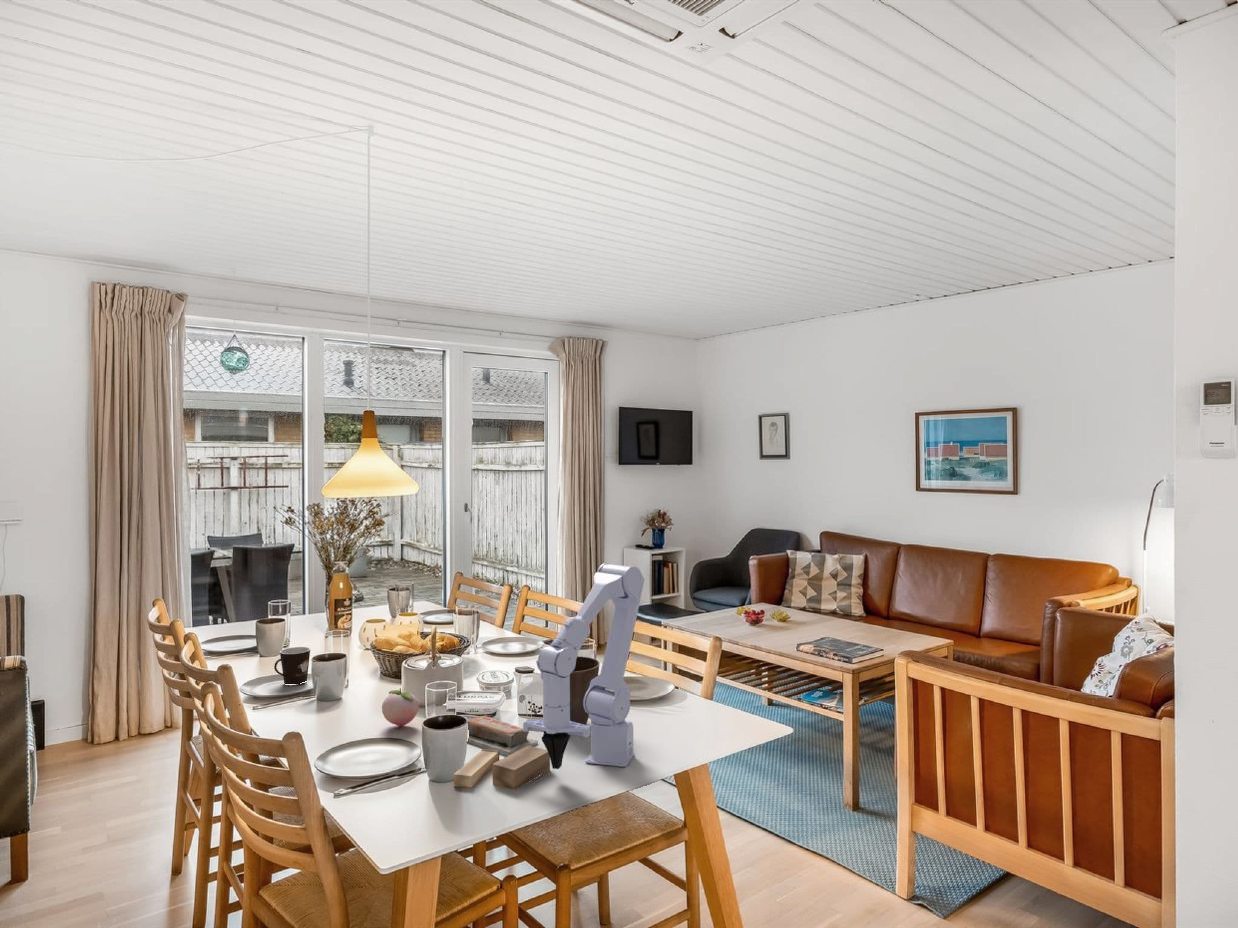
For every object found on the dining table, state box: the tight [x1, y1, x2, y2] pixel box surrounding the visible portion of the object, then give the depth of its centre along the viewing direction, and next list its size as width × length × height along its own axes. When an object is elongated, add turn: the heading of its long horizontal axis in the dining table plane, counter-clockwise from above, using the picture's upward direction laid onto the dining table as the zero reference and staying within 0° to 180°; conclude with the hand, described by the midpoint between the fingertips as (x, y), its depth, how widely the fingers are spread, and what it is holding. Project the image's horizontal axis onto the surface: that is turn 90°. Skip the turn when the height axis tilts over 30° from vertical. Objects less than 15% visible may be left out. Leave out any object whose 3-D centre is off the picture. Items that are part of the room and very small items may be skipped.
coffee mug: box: [273, 646, 311, 684], centre depth 235 cm, size 12×9×10 cm
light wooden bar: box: [453, 748, 500, 789], centre depth 168 cm, size 4×14×3 cm, turn 164°
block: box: [492, 746, 551, 791], centre depth 166 cm, size 6×12×4 cm, turn 148°
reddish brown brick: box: [466, 715, 539, 757], centre depth 187 cm, size 18×5×10 cm
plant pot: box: [570, 655, 601, 725], centre depth 197 cm, size 15×15×16 cm
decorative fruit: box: [381, 687, 420, 728], centre depth 197 cm, size 9×8×10 cm
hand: (557, 766), depth 164 cm, fingers closed
